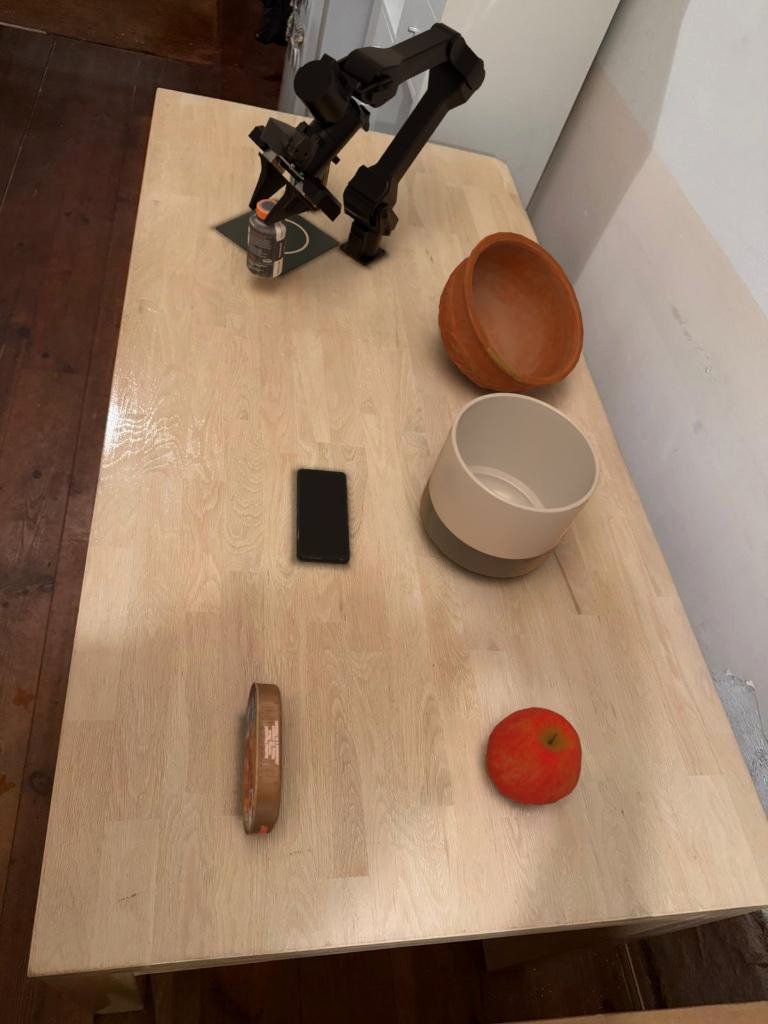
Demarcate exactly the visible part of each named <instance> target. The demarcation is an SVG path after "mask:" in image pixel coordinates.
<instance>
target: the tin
mask: <svg viewBox="0 0 768 1024" xmlns="http://www.w3.org/2000/svg"><path fill="white" fill-rule="evenodd" d="M245 711H246V712H245V721H244V741H243V742H244V744H243V745H244V747H243V778H242V779H243V781H242V786H243V787H242V822H243V830H244V833H245V835H246V836H250V835H265V834H266V835H267V834H270V833H271V832H272V831H273V829H274V827H275V826H276V824H277V822H278V820H279V814H280V808H281V802H282V801H281V800H282V784H283V783H282V782H283V721H282V720H283V719H282V717H283V716H282V714H283V713H282V712H283V711H282V696H281V690H280V688H279V686H278V685H277V684H275V683H263V682H262V683H261V682H260V683H259V682H255V681H254V682H252V684H251V686H250V688H249V694H248V699H247V705H246V710H245Z"/></svg>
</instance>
